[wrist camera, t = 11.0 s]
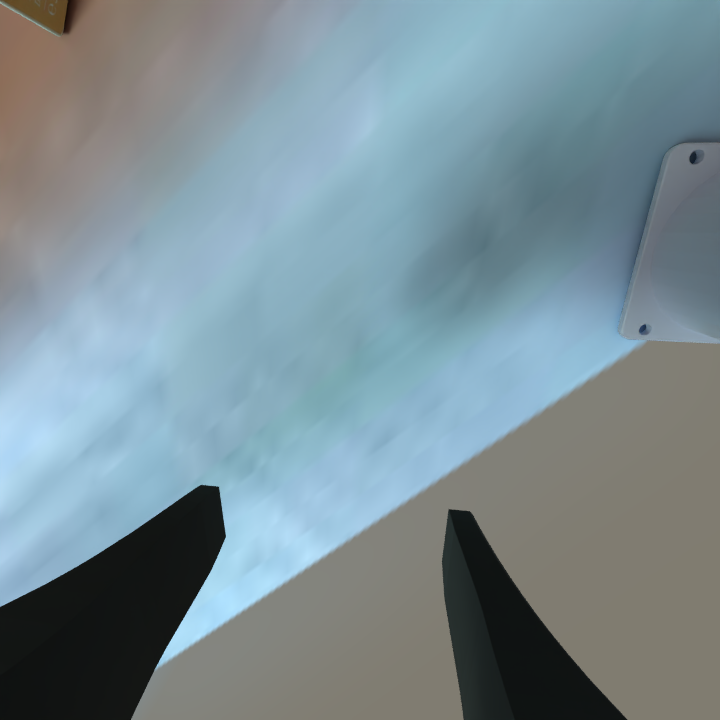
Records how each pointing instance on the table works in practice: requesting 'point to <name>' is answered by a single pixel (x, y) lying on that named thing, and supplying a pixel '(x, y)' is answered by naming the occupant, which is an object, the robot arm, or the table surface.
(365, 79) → the table surface
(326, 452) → the table surface
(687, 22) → the table surface
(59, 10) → the small box
